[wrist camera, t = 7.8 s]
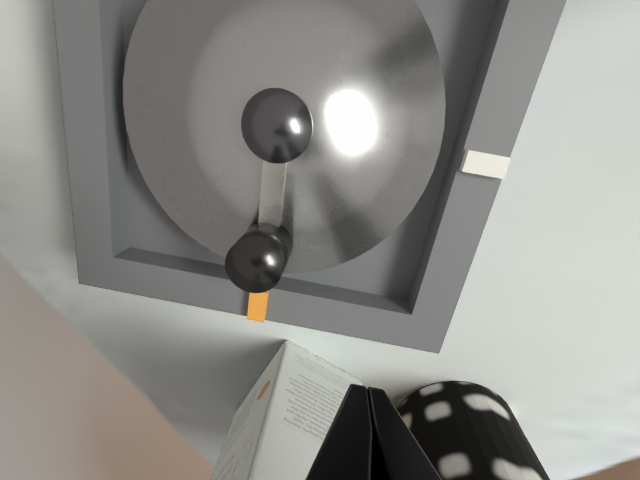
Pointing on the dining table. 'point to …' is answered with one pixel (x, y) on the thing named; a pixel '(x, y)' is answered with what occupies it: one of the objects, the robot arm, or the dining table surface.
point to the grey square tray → (331, 283)
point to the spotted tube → (469, 433)
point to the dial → (284, 125)
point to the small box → (283, 418)
